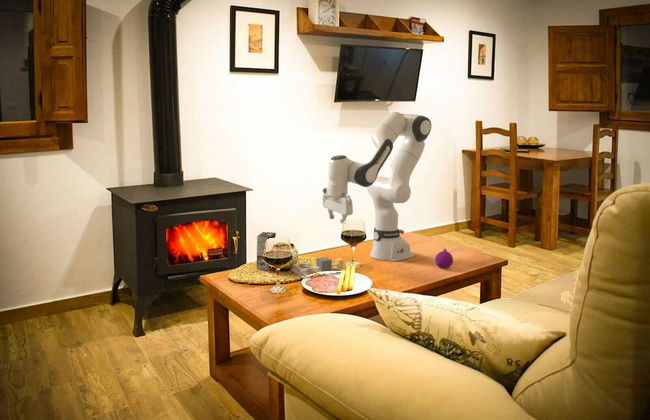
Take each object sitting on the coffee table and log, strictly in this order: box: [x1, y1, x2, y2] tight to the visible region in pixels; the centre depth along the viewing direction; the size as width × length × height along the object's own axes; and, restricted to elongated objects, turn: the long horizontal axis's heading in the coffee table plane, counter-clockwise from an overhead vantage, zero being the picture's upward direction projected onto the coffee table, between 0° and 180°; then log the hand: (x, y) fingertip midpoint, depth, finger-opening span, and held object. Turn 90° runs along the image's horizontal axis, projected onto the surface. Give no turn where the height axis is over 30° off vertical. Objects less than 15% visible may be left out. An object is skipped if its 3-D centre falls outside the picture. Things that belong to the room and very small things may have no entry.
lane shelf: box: [289, 261, 346, 279], centre depth 270 cm, size 26×13×4 cm, turn 120°
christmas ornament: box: [434, 247, 454, 269], centre depth 283 cm, size 8×8×10 cm
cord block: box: [315, 256, 345, 271], centre depth 272 cm, size 12×5×5 cm, turn 120°
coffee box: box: [256, 231, 277, 271], centre depth 271 cm, size 9×6×16 cm
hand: (337, 221), depth 278 cm, fingers open, 8 cm apart
